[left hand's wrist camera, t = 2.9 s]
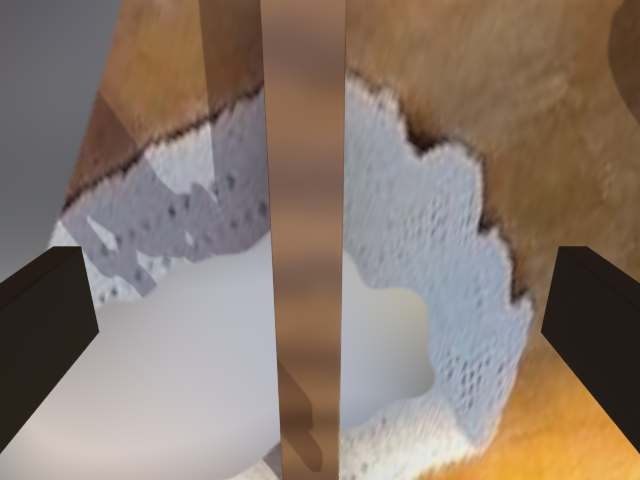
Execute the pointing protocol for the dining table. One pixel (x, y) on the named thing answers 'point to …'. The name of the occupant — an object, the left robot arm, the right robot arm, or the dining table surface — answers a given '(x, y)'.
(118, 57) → the dining table surface
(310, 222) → the beam
